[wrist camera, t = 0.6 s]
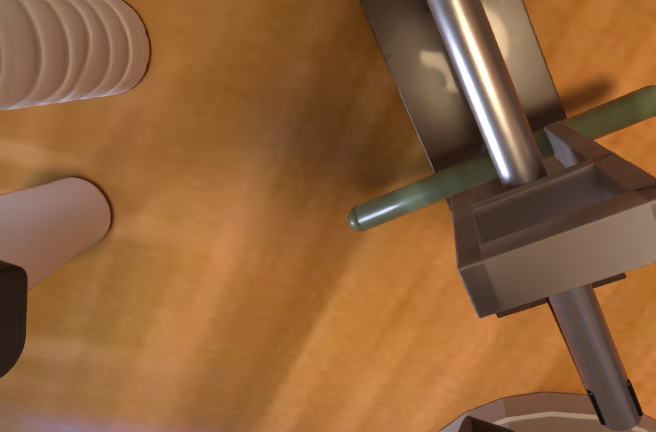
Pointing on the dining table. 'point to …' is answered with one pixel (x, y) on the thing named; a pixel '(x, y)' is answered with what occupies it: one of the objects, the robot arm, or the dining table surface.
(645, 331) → the dining table surface
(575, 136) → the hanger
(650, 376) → the dining table surface
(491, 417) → the dish
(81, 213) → the drinking glass
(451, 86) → the rail stand
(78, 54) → the water bottle
